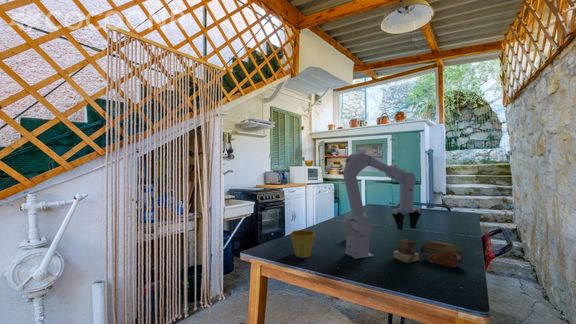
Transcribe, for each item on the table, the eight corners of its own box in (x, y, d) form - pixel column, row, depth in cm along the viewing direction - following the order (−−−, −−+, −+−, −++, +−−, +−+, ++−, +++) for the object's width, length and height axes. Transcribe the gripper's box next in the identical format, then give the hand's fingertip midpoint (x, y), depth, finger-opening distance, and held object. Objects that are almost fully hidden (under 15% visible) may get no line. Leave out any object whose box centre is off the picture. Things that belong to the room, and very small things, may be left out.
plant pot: (297, 250, 123) (297, 228, 123) (318, 254, 118) (318, 231, 118) (286, 256, 114) (286, 233, 114) (308, 261, 109) (308, 236, 109)
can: (356, 243, 134) (356, 219, 134) (342, 240, 139) (342, 217, 139) (362, 240, 140) (362, 217, 140) (348, 237, 145) (349, 215, 145)
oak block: (407, 263, 108) (407, 256, 108) (393, 258, 114) (393, 251, 114) (419, 261, 111) (419, 254, 111) (405, 256, 117) (405, 249, 117)
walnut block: (406, 254, 110) (406, 242, 110) (398, 251, 114) (398, 239, 114) (414, 253, 111) (414, 241, 111) (406, 250, 115) (406, 238, 116)
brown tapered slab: (420, 260, 111) (420, 239, 111) (422, 258, 114) (422, 238, 114) (462, 269, 101) (462, 247, 101) (464, 267, 104) (464, 245, 104)
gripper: (400, 200, 116) (400, 232, 115) (425, 199, 121) (425, 229, 121) (389, 198, 122) (388, 228, 122) (413, 197, 127) (413, 226, 127)
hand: (406, 228), depth 122 cm, fingers open, 7 cm apart
